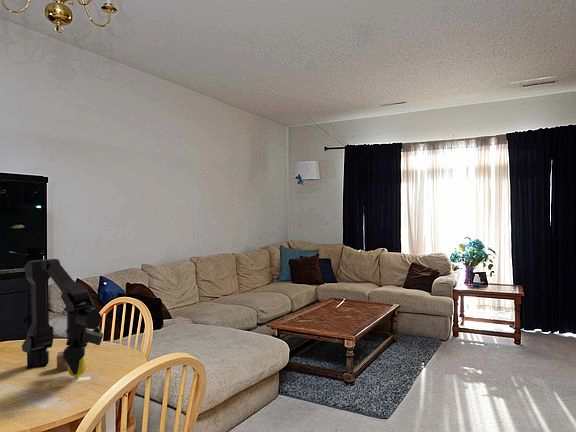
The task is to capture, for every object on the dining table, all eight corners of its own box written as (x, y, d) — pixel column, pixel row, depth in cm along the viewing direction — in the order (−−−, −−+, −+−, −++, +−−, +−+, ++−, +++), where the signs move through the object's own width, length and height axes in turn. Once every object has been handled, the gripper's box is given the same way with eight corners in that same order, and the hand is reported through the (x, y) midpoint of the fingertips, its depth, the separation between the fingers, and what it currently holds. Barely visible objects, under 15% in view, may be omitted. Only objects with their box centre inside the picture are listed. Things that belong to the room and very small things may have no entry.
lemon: (78, 381, 145) (78, 357, 145) (64, 380, 146) (64, 356, 146) (89, 375, 150) (89, 352, 151) (75, 374, 152) (75, 352, 152)
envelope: (51, 387, 141) (51, 386, 141) (55, 377, 150) (55, 376, 150) (98, 381, 146) (98, 380, 146) (99, 371, 155) (99, 370, 155)
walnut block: (56, 372, 155) (56, 356, 155) (58, 368, 159) (58, 352, 159) (70, 370, 156) (70, 354, 156) (71, 366, 161) (71, 350, 160)
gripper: (100, 329, 142) (100, 376, 142) (102, 316, 160) (103, 358, 160) (62, 333, 138) (63, 381, 138) (69, 319, 156) (69, 362, 156)
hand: (76, 370), depth 148 cm, fingers open, 8 cm apart
